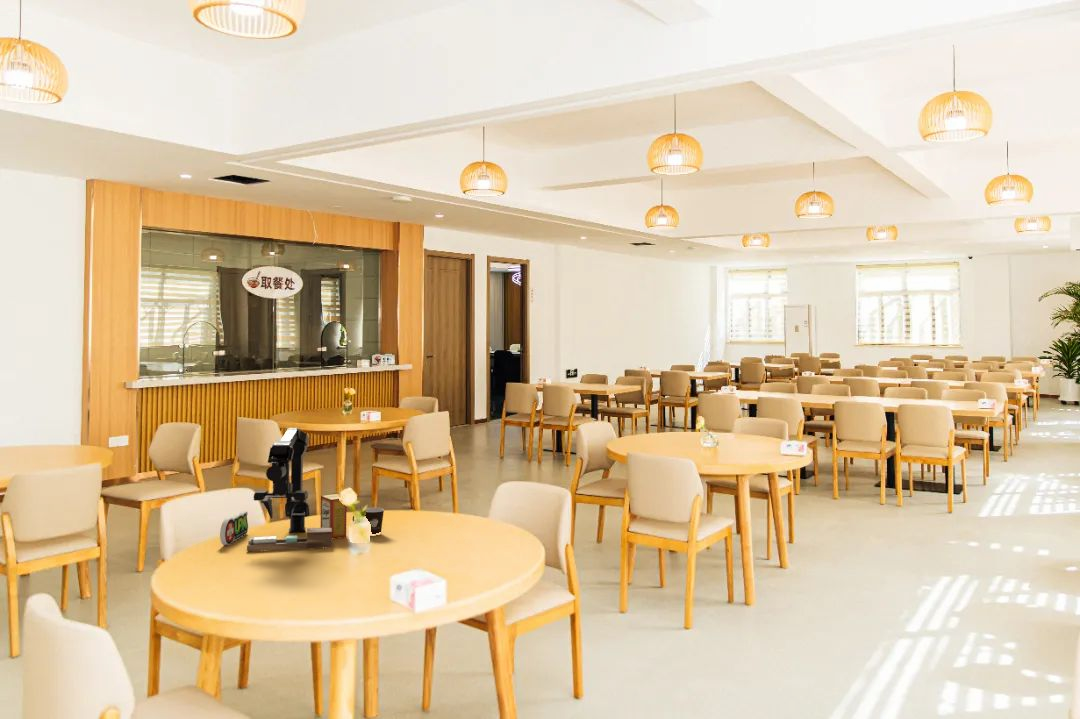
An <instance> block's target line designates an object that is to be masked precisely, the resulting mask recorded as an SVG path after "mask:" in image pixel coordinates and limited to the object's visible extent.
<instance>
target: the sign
mask: <svg viewBox="0 0 1080 719" xmlns="http://www.w3.org/2000/svg"><path fill="white" fill-rule="evenodd" d="M248 515H249V514H248V511H241V512H239V513H238V514H235V515H233V516H231V517H230V518H229V517H226V518H224V520H223V521H222V523H221V526H220V534H219V540H220V543H221V544H222V545H223V546H230V545H232V544H233V542H236V541H237V539H238V540H239V539H241V538H242V537H244V536H246V535H247V534H248V531H249V524H248V523H249V522H248ZM245 534H246V535H245ZM243 535H244V536H243ZM240 537H241V538H240ZM231 543H232V544H231ZM229 544H230V545H229Z"/></svg>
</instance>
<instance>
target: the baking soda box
mask: <svg viewBox="0 0 1080 719" xmlns="http://www.w3.org/2000/svg"><path fill="white" fill-rule="evenodd" d="M339 496H341V495H340V494H337V493H336V494H327V495H325V494H324V495H320V528H326V527H331V528H332V538H336V539H339V538H338V537H342V538H346V537H347V511H348V510H347V506H345V505H343V504H342V503H341V502H340V501H339Z"/></svg>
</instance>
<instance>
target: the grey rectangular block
mask: <svg viewBox="0 0 1080 719" xmlns="http://www.w3.org/2000/svg"><path fill="white" fill-rule="evenodd" d="M277 539H278V538H277V536H274V535H273V536H256V537H255V536H252V537H250V540H249V541H250V545H254V544H273V543H276V541H277Z"/></svg>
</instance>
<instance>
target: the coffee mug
mask: <svg viewBox="0 0 1080 719" xmlns="http://www.w3.org/2000/svg"><path fill="white" fill-rule="evenodd" d="M365 509H366V515H365V516H366V518H367V519H368V521H369V522H370V524H371V532H372V534H376V533H379V532H381V533H382V528H383V527H382V526H383V520H384V512H385V509H384V508H382V507H367V508H365ZM352 521H353V522H354V521H355V517H354V515H353V516H352Z"/></svg>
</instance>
